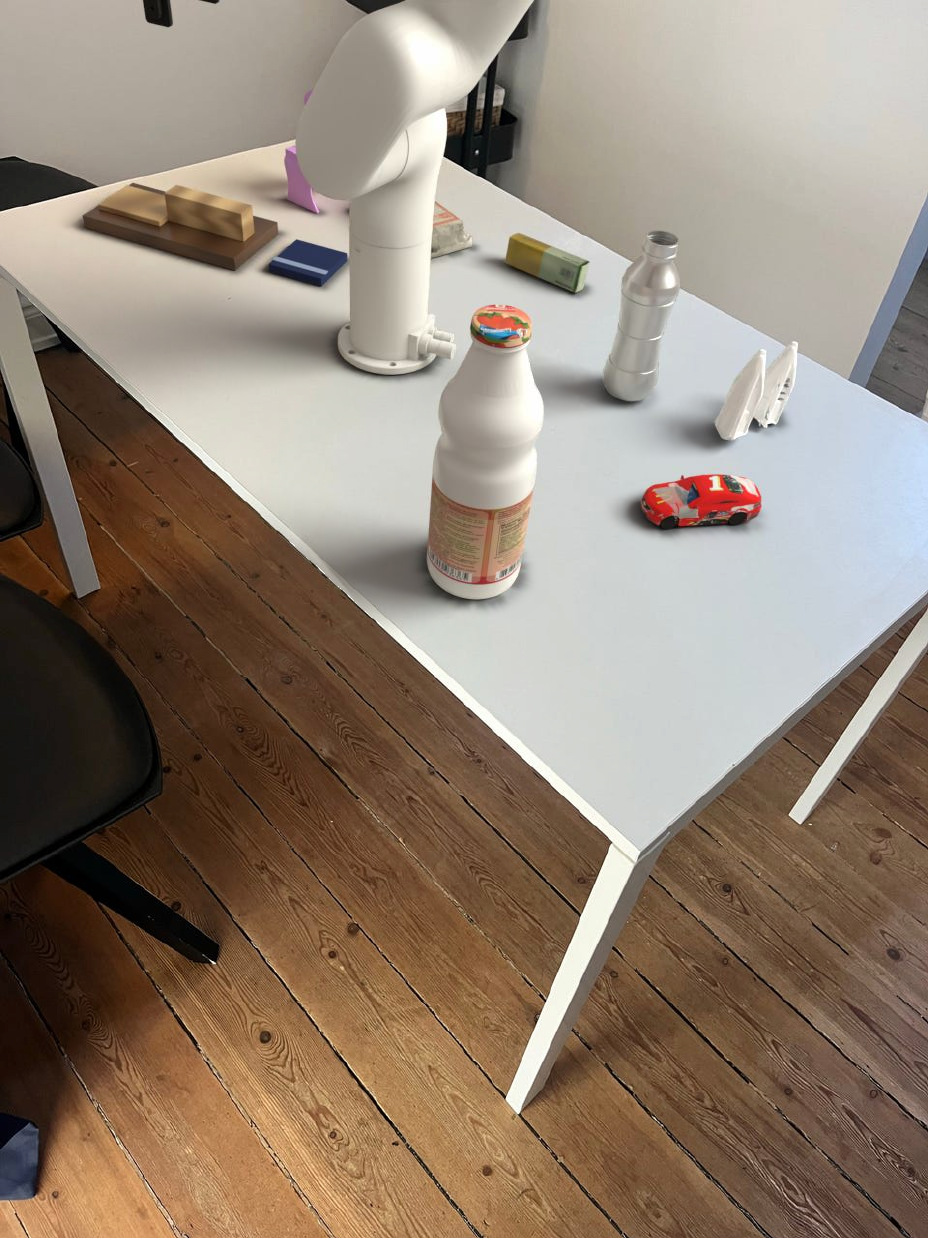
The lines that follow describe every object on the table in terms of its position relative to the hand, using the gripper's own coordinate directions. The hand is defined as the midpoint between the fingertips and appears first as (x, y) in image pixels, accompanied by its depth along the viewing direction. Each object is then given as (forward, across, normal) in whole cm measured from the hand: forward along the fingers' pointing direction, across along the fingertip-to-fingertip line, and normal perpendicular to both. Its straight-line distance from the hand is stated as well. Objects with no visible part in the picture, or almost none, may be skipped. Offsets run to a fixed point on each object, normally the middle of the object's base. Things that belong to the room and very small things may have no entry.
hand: (183, 12), depth 113 cm
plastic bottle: (+31, -3, -60) cm, 67 cm away
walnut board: (+30, +5, +8) cm, 32 cm away
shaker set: (+31, -3, -75) cm, 81 cm away
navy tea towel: (+30, +5, -12) cm, 33 cm away
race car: (+31, -21, -73) cm, 82 cm away
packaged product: (+31, +22, -20) cm, 43 cm away
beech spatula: (+28, +5, +8) cm, 30 cm away
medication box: (+31, +19, -42) cm, 55 cm away
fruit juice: (+31, -40, -54) cm, 74 cm away
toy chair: (+31, +24, -4) cm, 39 cm away
